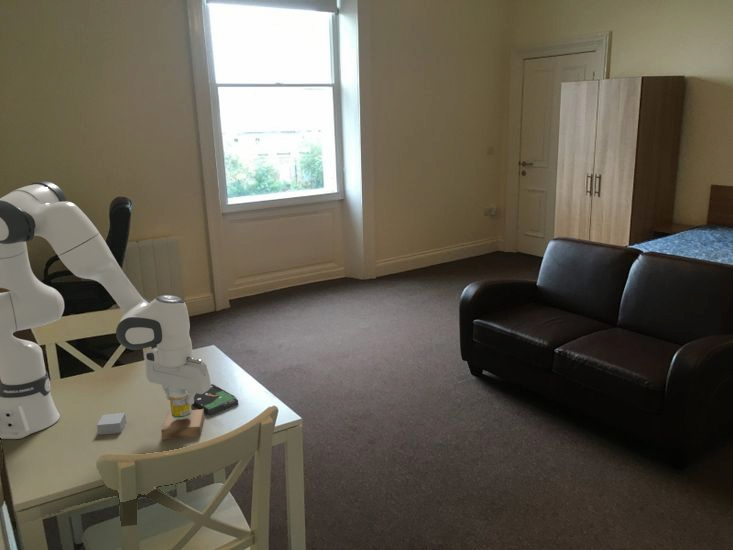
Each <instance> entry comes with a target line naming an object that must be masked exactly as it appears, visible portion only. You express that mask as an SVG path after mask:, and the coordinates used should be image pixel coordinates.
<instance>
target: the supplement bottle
mask: <svg viewBox="0 0 733 550" xmlns="http://www.w3.org/2000/svg"><path fill="white" fill-rule="evenodd" d="M171 389H172V390H171V392H170V394H169V395H170V400H169V404H170V412H171V414H172V417H173V418H174V419H177V420H182V419H186V418H188V417H190V416H191V414H192V410H193V409H192V405H187V404H186V401H185V399H186V398H188V396H189V394H187V391H185V390H181V389H177V388H176V387H175V386H172V387H171Z"/></svg>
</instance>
